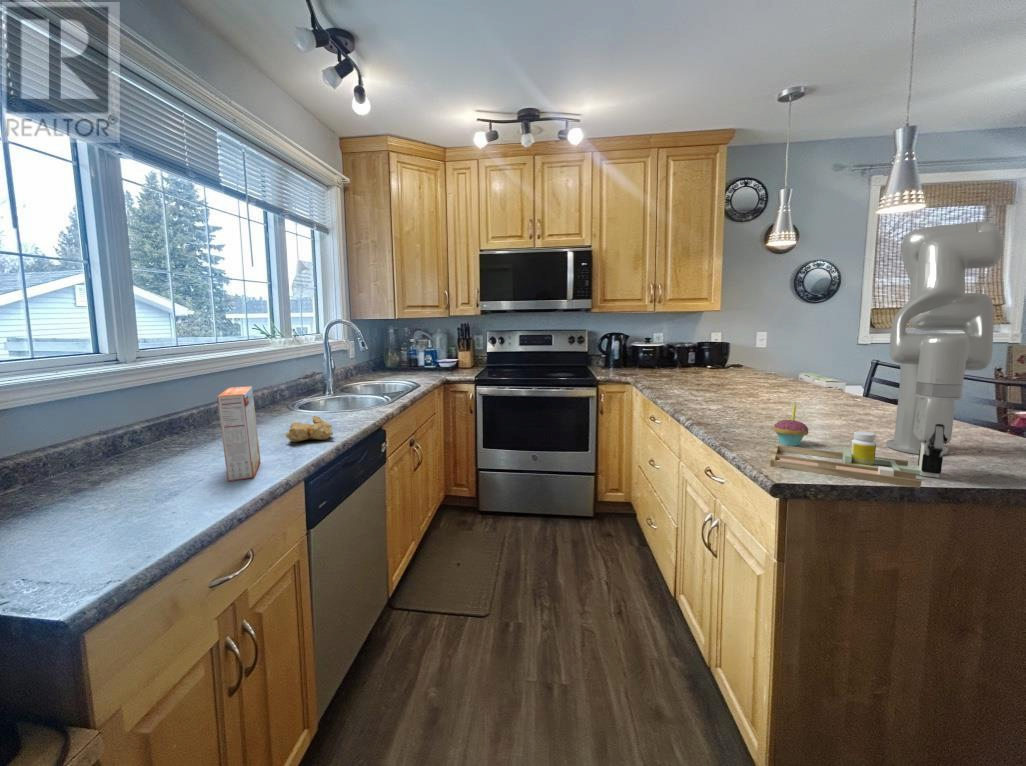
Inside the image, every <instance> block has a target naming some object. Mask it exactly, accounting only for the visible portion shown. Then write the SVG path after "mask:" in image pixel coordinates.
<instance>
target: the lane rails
mask: <svg viewBox="0 0 1026 766" xmlns="http://www.w3.org/2000/svg"><path fill="white" fill-rule="evenodd" d="M778 450H781V451H780V452H783V451H789V452H788V453H790V452H794V453H793V454H798V453H801V455H806V454H808V455H809V456H814V455H815V457H822V456H823V457H824V458H830V457H831V459H838V458H839V460H843V459H842V457H843V452H840V451H839V452H838V451H832V450H831V451H830V450H822V449H816V448H815V449H813V448H806V447H805V448H804V447H798V446H786V445H782V444H775V445H774V447H773V451H772V454H771V458H770V461H769V462H770V463H769V464H770V465H771V466H770V465H769V466H770V467H772V466H779V467H785V468H784V469H786V468H790V469H789V470H793V469H795V470H794V471H800V470H801V471H802V472H808V473H815V474H821V475H829V476H836V477H843V478H849V479H856V480H864V481H870V482H871V481H872V482H875V483H876V482H878V483H883V484H890V485H897V486H898V485H899V486H904V487H905V486H906V487H912V488H918V489H920V488H921V486H922V480H921V479H916V477H917V474H916V473H914V472H906V471H899V470H894V476H886V475H878V474H871V473H864V472H857V471H849V470H842V469H836V466H843V467H851V468H858V469H866V470H873V471H878V468H876V467H868V466H861V465H853V464H845V463H843V462H836V461H829V460H821V459H815V458H805V457H798V456H792V455H791V456H790V455H784V454H778V453H777V452H779V451H778ZM823 457H822V458H823ZM780 458H784V459H791V460H799V461H806V462H814V463H818V466H813V465H806V464H798V463H791V462H784V461H777V460H780ZM875 458H878V459H886V460H894V461H895V462H896V464H897V465H902V466H909V461H908V460H904V459H897V458H888V457H887V458H886V457H881V456H875ZM779 467H778V468H779Z"/></svg>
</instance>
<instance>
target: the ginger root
mask: <svg viewBox="0 0 1026 766" xmlns="http://www.w3.org/2000/svg"><path fill="white" fill-rule="evenodd" d="M312 423H313V424H311V423H302V422H298V421H297V422H295V421H294V422H292V423H291V424H290V426H289V427H290V428H289V430H288V431H287V432H286V433H285V438H287V439H288V440H289V441H290V442H293V443H298V442H299V443H300V442H301V441H305V440H306V441H307V440H314V441H315V440H319V441H321V440H322V441H323V440H328V439H329V438H330V436H332V435H334V432H333V430H334V429H333V426H332V424H330V423H328V422H327V421H324V419H322V418H321V417H320V416H317V415H313V416H312Z"/></svg>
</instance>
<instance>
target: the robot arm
mask: <svg viewBox="0 0 1026 766" xmlns="http://www.w3.org/2000/svg"><path fill="white" fill-rule="evenodd" d="M1003 250H1004V241H1003V236H1002V235H1001V232H1000V230H999V229H998V227H996V225H995V224H994V223H993V222H990V221H985V220H984V221H983V220H982V221H973V222H963V223H954V224H952V223H951V224H944V225H943V224H942V225H933V226H928V227H921V228H918V229H914V230H912V231H910V232H908V233H907V234H906V235H904V238H903V239H902V242H901V258H902V259H901V260H902V263H903V267H904V268H905V271H906V273H907V275H908V278H909V279H908V280H909V286H910V287H909V301H908V302H907V303H905V304H904V305H903V306H902V307H901V308H900V309H899V310H898V312H897V313H896V314H895V316H894V318H893V319H892V320H893V321H892V323H891V326H890V327H891V328H890V334H889V335H890V336H889V337H890V338H889V356H890V358H891V360H892V361H893V362H894V363H897V364H899V366H900V367H899V368H900V369H899V370H900V373H899V374H900V375H899V377H900V378H899V388H898V398H897V399H898V400H897V409H896V417H895V427H894V436H893V438H892V439H888V440H887V441H886V442H885V445H886V446H887V448H890V449H893V450H895V451H899V452H904V453H908V454H909V453H910V454H916V455H918V460H917V467H919V460H920V451H921V443H922V442H924V443H926V448H925V454H923V459H922V468H921V470H922V471H923V472H927V473H935V474H939V475H940V474H942V466H943V459H944V457H943V456H944V455H948V454H949V449H948V447H947V446H944V445H948V444H949V443H951V438H952V433H953V432H952V431H953V424H954V416H955V415H954V412H955V401H958V400H962V396H963V395H962V394H963V389H964V388H963V387H964V379H965V371H972V372H973V371H982V370H984V369H986V368H988V367H989V365H990V363H991V362H992V359H993V351H994V350H993V349H994V348H993V347H994V323H995V322H994V320H995V319H994V315H995V313H994V303H993V299H991V297H990V296H989V295H988V294H986V293H981V292H966V270H967V269H968V270H969V269H971V270H972V269H986V268H992V267H995V265H997V264H998V263H999V262H1000V260H1001V258H1002V256H1003V252H1004V251H1003ZM908 322H909V325H910V326H911V328H914V329H915V330H916V329H917V330H921V331H923V330H925V331H926V330H927V331H963V332H962V333H961V332H959V333H957V332H953V333H952V332H948V333H947V332H907V331H906V328H907V324H908ZM930 445H933V446H931V447H930Z"/></svg>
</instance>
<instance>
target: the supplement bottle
mask: <svg viewBox="0 0 1026 766" xmlns="http://www.w3.org/2000/svg"><path fill="white" fill-rule="evenodd" d="M875 439H876V433H873V432H870V431H862V430H861V431H860V430H859V431H854V433H853V439H852V440H851V443H850V453H851V456H852V460H851V463H854V464H862V465H870V466H875V464H874V461H875V457H876V450H877V442H876V441H875Z"/></svg>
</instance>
